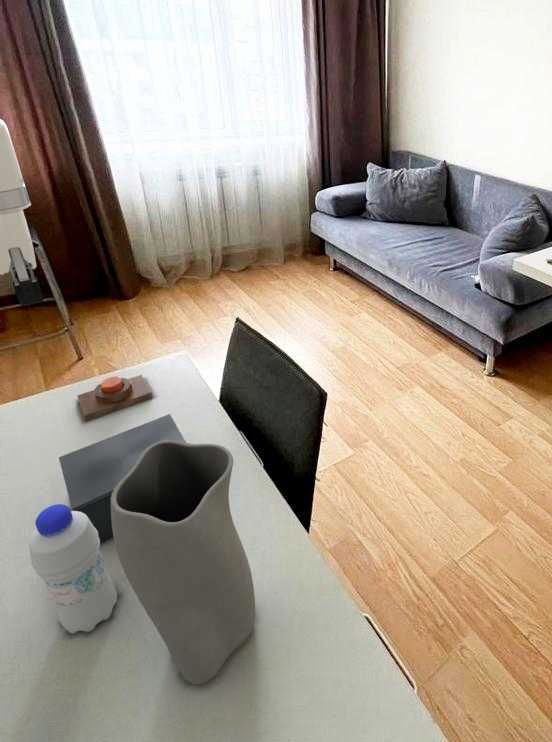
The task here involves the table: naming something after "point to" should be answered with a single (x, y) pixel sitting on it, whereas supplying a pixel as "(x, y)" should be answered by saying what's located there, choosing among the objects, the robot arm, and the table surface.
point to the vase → (185, 553)
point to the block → (114, 398)
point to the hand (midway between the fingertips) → (31, 301)
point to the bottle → (72, 567)
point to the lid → (111, 460)
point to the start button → (112, 384)
